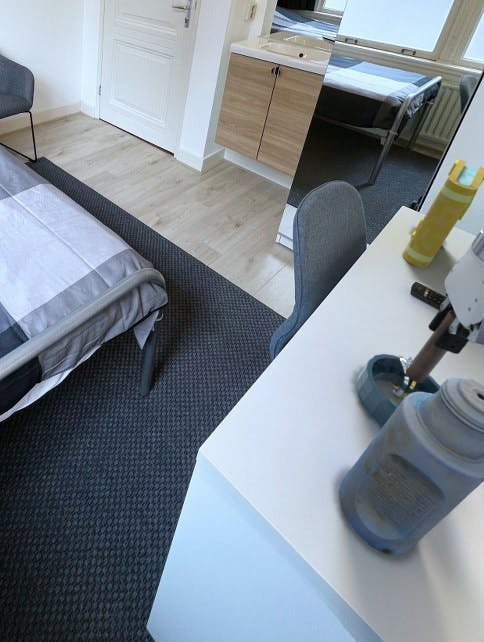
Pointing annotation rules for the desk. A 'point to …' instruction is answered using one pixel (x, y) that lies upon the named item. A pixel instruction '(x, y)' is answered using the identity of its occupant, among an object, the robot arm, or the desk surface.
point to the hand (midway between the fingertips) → (442, 339)
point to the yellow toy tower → (444, 213)
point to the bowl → (390, 371)
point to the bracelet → (404, 389)
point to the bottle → (417, 467)
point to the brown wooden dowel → (429, 353)
